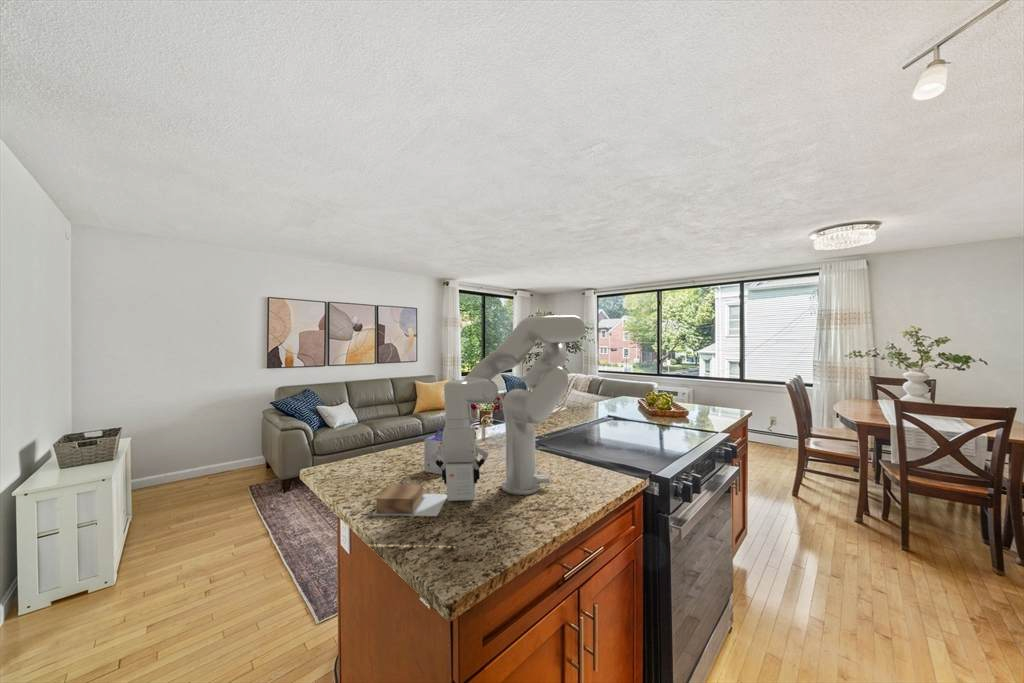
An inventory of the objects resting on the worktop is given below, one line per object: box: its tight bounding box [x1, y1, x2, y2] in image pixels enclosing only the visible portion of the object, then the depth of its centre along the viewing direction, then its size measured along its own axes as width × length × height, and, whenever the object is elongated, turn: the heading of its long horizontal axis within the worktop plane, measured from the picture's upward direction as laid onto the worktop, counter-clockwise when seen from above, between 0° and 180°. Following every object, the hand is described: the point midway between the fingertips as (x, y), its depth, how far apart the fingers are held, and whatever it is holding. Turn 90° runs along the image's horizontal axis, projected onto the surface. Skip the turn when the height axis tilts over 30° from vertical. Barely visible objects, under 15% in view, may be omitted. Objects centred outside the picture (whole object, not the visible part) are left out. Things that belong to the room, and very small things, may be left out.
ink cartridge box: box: [423, 429, 444, 475], centre depth 135 cm, size 10×6×14 cm, turn 66°
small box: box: [445, 462, 478, 502], centre depth 110 cm, size 8×6×10 cm
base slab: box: [375, 483, 424, 514], centre depth 107 cm, size 10×10×4 cm
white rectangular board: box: [371, 493, 447, 517], centre depth 107 cm, size 18×14×1 cm
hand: (461, 481), depth 109 cm, fingers closed on small box, 8 cm apart
